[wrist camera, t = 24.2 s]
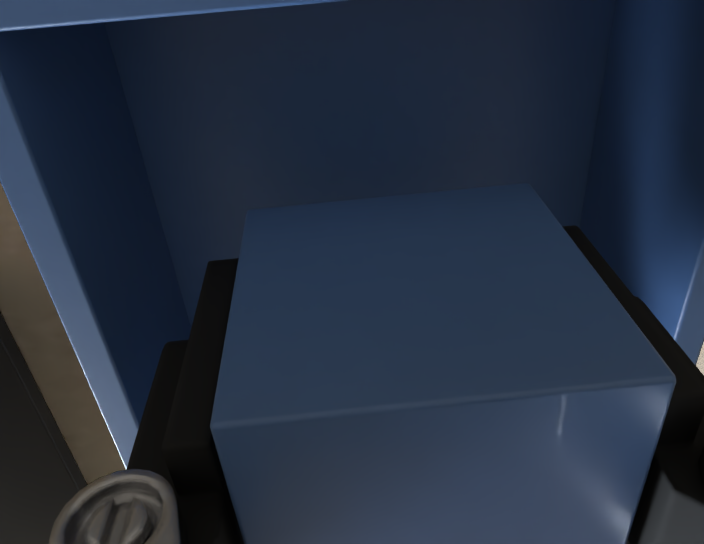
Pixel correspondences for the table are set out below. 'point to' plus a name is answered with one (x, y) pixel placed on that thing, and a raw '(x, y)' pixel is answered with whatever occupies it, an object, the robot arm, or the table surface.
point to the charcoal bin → (30, 454)
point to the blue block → (431, 377)
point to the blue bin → (334, 142)
